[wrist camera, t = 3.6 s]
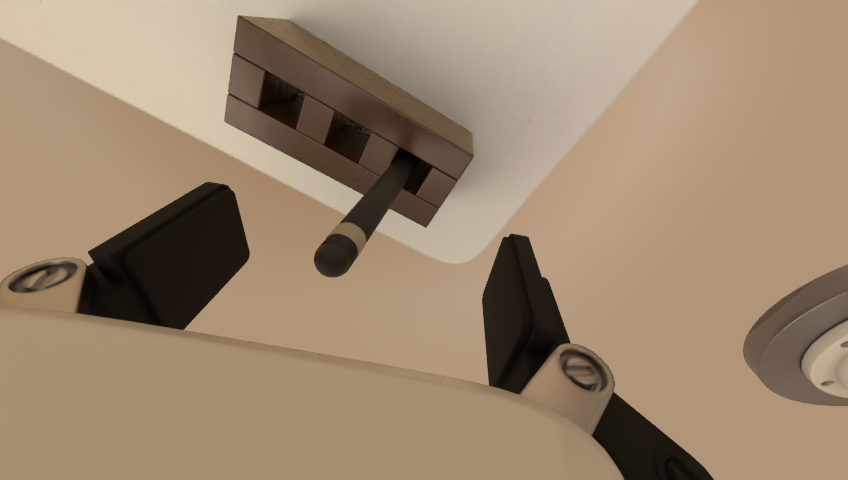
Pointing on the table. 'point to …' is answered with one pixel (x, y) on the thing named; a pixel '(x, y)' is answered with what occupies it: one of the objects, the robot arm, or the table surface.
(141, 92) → the table surface
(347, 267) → the stylus
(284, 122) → the pen stand
